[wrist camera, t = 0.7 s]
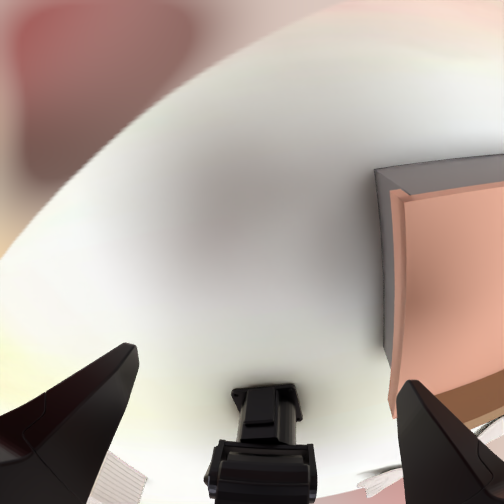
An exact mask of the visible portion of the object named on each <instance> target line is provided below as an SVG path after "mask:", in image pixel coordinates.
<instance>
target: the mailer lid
mask: <svg viewBox="0 0 504 504" xmlns="http://www.w3.org/2000/svg"><path fill="white" fill-rule="evenodd" d="M390 200H391V211H392V225H393V242H394V275H395V301H394V333H393V350H392V364H391V375H390V385H389V394H388V402H389V406H390V410H391V414H392V417H393V419H395V418H397V410H396V397H397V394H398V393H399V391H400V390H401V388H402V386H403V385H404V383H405V382H406V381H407V380H419V381H420V382H421V383H422V384H423V385H424V386H425V387H426V388H427V389H428V390H429V391H430V392H431V393H432V394H433V395H434V396H436V397H437V398H438V399H439V400H440V401H441V402H442V403H443V404H444V405H445V406H446V407H447V408H448V409H449V410H450V411H451V412H452V413H453V414H454V415H455V416H456V417H457V418H458V419H459V420H460V421H461V422H462V423H463V424H464V425H465V426H466V427H467V428H468V429H469V430H470V429H473V428H475V427H478V426H480V425H482V424H485V423H487V422H489V421H491V420H494V419H496V418H498V417H500V416H502V415H504V181H501V182H494V183H487V184H480V185H473V186H467V187H460V188H453V189H447V190H440V191H434V192H428V193H422V194H415V195H408V194H407V193H405V192H404V191H403V190H401V189H397V190H391V191H390Z"/></svg>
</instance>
